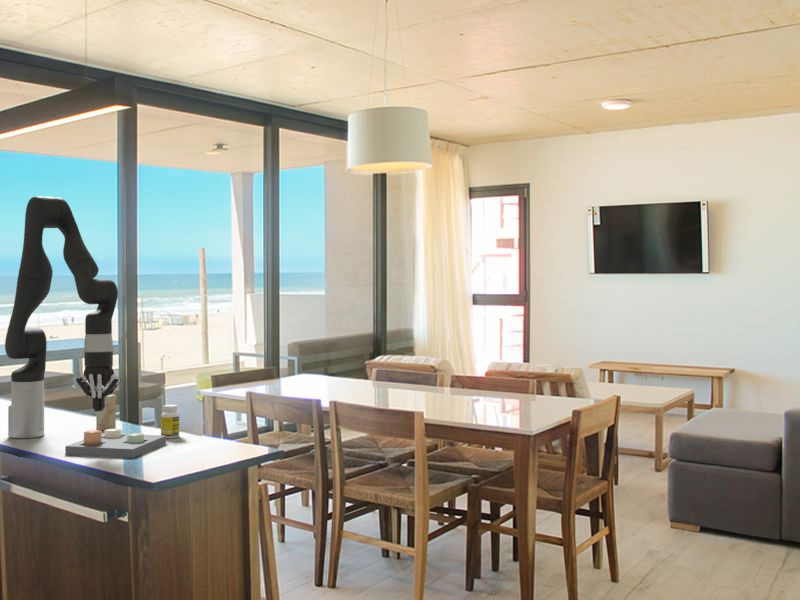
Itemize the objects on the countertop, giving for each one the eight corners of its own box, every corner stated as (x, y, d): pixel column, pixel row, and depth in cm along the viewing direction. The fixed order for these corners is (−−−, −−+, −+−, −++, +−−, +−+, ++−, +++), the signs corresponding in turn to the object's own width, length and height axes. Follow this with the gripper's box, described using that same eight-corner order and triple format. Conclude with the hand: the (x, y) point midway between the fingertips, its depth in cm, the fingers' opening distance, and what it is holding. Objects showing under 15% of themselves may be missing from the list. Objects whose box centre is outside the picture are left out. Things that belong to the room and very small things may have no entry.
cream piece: (101, 444, 235) (101, 431, 235) (109, 441, 239) (109, 428, 239) (116, 445, 234) (116, 431, 234) (124, 442, 238) (124, 429, 238)
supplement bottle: (174, 439, 246) (174, 407, 246) (157, 438, 247) (157, 406, 247) (182, 435, 251) (182, 404, 251) (166, 435, 252) (166, 403, 252)
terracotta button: (80, 447, 224) (80, 432, 224) (89, 443, 228) (89, 429, 228) (95, 447, 223) (95, 433, 223) (104, 444, 227) (104, 430, 227)
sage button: (123, 450, 228) (123, 436, 227) (131, 446, 232) (132, 433, 232) (139, 450, 227) (139, 436, 227) (146, 447, 231) (146, 433, 231)
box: (108, 430, 258) (108, 396, 258) (95, 430, 259) (95, 396, 259) (116, 428, 263) (116, 394, 263) (104, 427, 264) (104, 393, 264)
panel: (65, 454, 222) (65, 446, 222) (103, 440, 242) (103, 432, 242) (132, 458, 219) (132, 449, 219) (166, 443, 239) (166, 435, 238)
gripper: (69, 350, 224) (69, 412, 225) (114, 351, 223) (114, 413, 223) (83, 348, 232) (83, 408, 232) (127, 349, 230) (127, 409, 230)
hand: (98, 410), depth 227 cm, fingers closed
